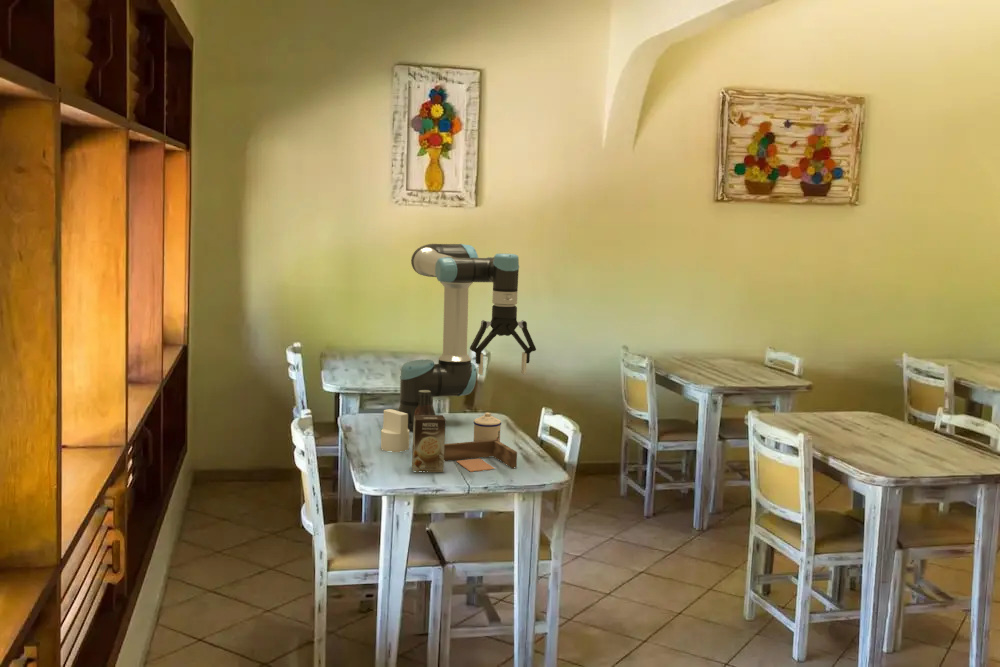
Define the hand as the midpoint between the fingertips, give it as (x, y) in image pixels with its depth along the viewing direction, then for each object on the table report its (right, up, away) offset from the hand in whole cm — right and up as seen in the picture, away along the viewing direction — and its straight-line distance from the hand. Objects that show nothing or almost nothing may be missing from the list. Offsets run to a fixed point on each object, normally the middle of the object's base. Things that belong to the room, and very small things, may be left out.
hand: (502, 374), depth 271 cm
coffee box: (-22, -28, -7) cm, 37 cm away
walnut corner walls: (-7, -28, +1) cm, 29 cm away
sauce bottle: (-25, -26, +12) cm, 38 cm away
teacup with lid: (-5, -25, +21) cm, 33 cm away
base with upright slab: (-34, -25, +15) cm, 45 cm away
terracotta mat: (-8, -28, -1) cm, 29 cm away
